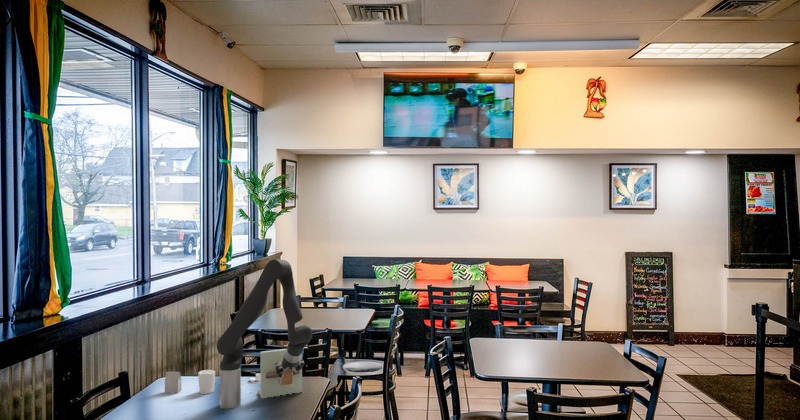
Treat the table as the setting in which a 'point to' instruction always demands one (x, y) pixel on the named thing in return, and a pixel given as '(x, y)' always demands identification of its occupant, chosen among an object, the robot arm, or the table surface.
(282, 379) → the wall cabinet
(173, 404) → the table surface
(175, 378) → the grey brown rectangular block
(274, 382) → the wall board
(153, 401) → the table surface
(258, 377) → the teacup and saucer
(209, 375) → the white cup
